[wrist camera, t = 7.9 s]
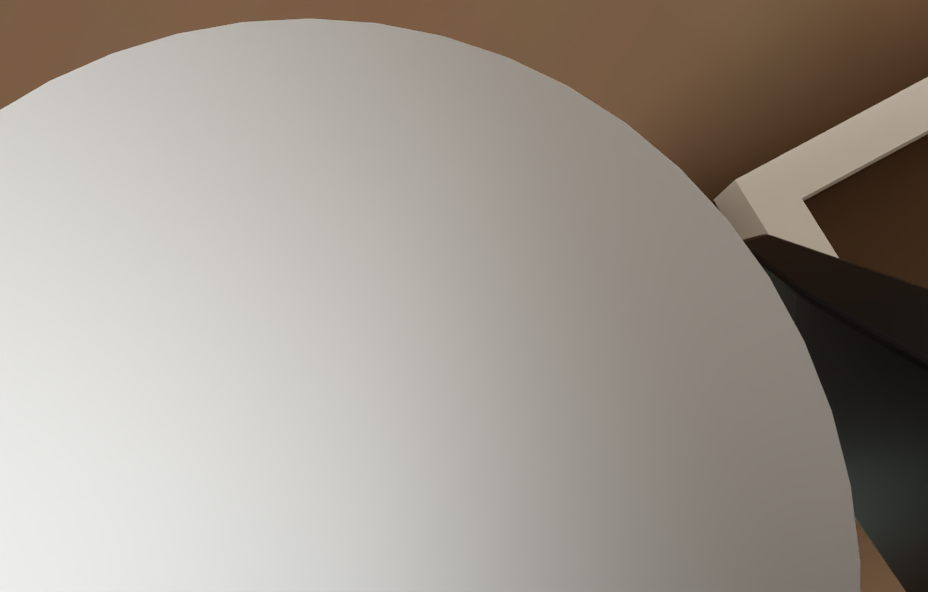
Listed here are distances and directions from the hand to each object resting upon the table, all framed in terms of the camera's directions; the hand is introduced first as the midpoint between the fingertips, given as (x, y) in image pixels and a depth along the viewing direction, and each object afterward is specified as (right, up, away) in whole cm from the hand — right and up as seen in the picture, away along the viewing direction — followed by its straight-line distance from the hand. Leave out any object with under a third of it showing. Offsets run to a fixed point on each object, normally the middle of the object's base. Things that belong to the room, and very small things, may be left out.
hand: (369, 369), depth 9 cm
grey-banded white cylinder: (0, -2, +7) cm, 8 cm away
